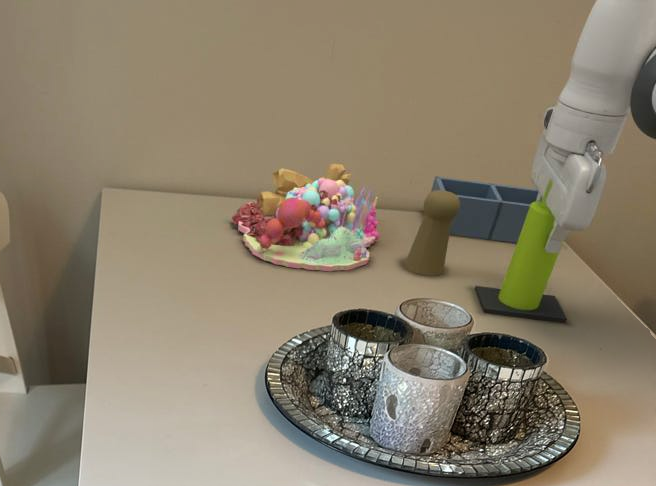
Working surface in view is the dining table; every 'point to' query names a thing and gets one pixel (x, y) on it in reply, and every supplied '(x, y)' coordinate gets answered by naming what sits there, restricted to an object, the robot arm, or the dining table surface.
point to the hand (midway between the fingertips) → (543, 239)
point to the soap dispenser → (530, 259)
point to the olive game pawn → (433, 234)
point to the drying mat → (545, 310)
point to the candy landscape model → (310, 222)
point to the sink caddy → (488, 208)
